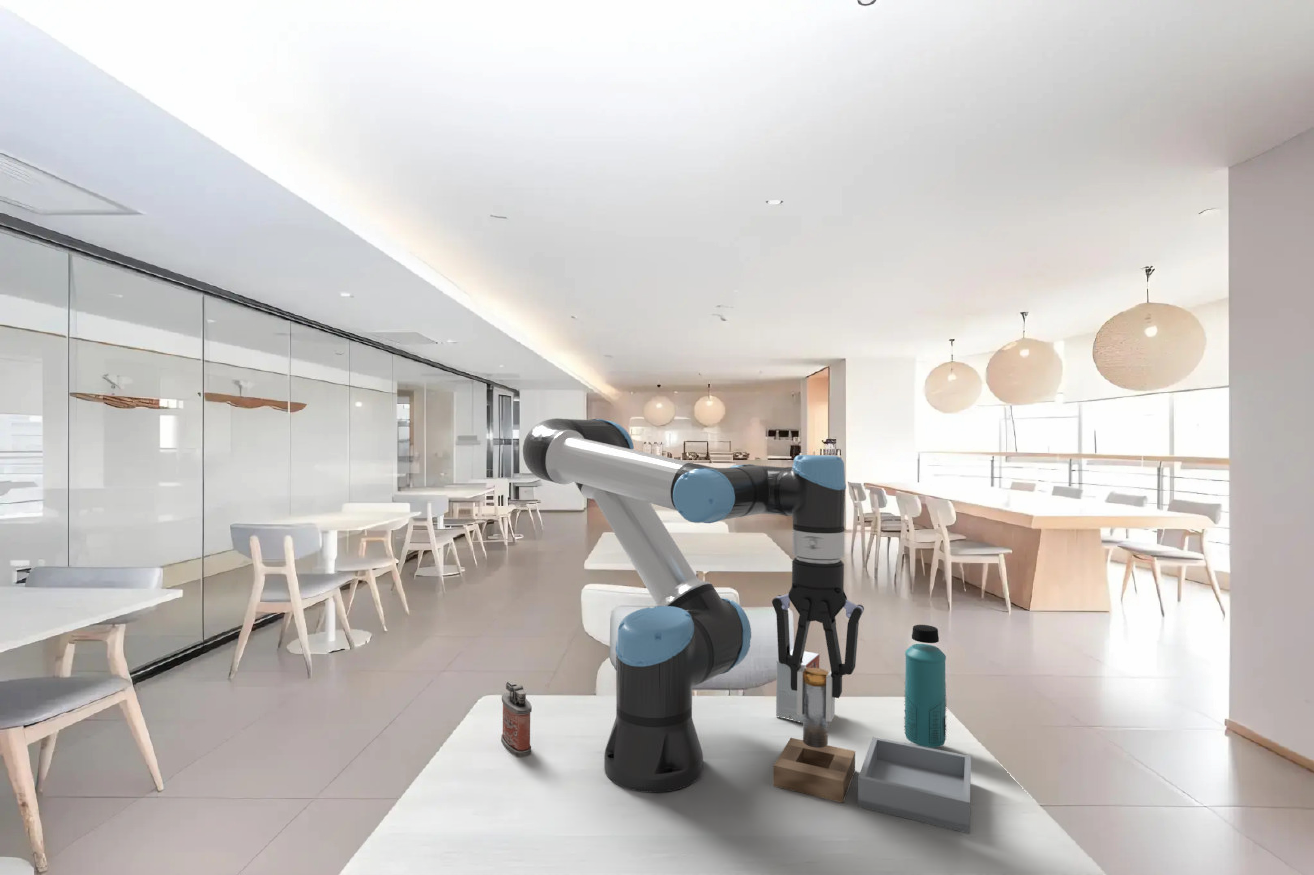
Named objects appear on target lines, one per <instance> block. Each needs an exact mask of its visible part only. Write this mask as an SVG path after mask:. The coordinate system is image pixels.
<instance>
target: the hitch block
mask: <svg viewBox="0 0 1314 875" xmlns="http://www.w3.org/2000/svg"><path fill="white" fill-rule="evenodd" d="M772 772H773V773H772V774H773V779H772V780H773V782H772V783H773V784H772V786H773V787H777V788H781V789H785V790H789V791H793V792H797V793H801V794H805V795H810V796H813V797H818V798H821V799H822V798H823V799H826V800H829V801H834V802H839V803H844V802H845V800H846V797H847V793H848V792H849V791H848V790H849V788H850V785H851V784H852V783H851V782H852V779H853V777H854V775H855V772H856V750H851V749H847V748H843V747H842V748H841V747H837V746H834V745H828V744H827V746H825V747H822V748H815V747H810V746H808V745H806V744H805V743H804V742H803V739H798V738H795V737H794V738H793V737H790V738H789V740H788V742H787V743H786V745H785V746H784V748H783V749H782V751H781V752H780V754H779V756H778V758H776V760H775V762H774V764H773V771H772Z"/></svg>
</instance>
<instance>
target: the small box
mask: <svg viewBox="0 0 1314 875" xmlns="http://www.w3.org/2000/svg"><path fill="white" fill-rule="evenodd" d="M792 653H793V648H792V649H790V655H792ZM802 661H803V662H802V664H801V666H804V667H807V668H820V654H819V653H816V652H810V651H806V650H804V654H803V659H802ZM775 696H776V698H775V699H776V700H775V702H776V703H775V706H776V708H775V710H776V711H775V714H776V715H775V716H779V717H785V718H789V719H793V720H795V721H794V722H796V721H800V722H803V715H802V716H799V715H797V691H795V690H792V689H791V669H790V667H789V666H787V665H785V664H781V663H780V662H779V660H778V659H777V660H776V695H775ZM779 717H778V718H779ZM800 722H799V723H800Z"/></svg>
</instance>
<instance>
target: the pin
mask: <svg viewBox="0 0 1314 875" xmlns="http://www.w3.org/2000/svg"><path fill="white" fill-rule="evenodd" d="M828 673H829V671H828V670H826V669H823V668H820V667H819V668H807V669H805V670H804V704H803V723H802V725H803V726H802V740H803V742H804V743H805V744H806V745H808V746H810V747H815V748H822V747H825V746H827V745H828V744H829V741H828V740H829V735H828V733H829V721H826V676H827V675H828Z"/></svg>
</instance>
